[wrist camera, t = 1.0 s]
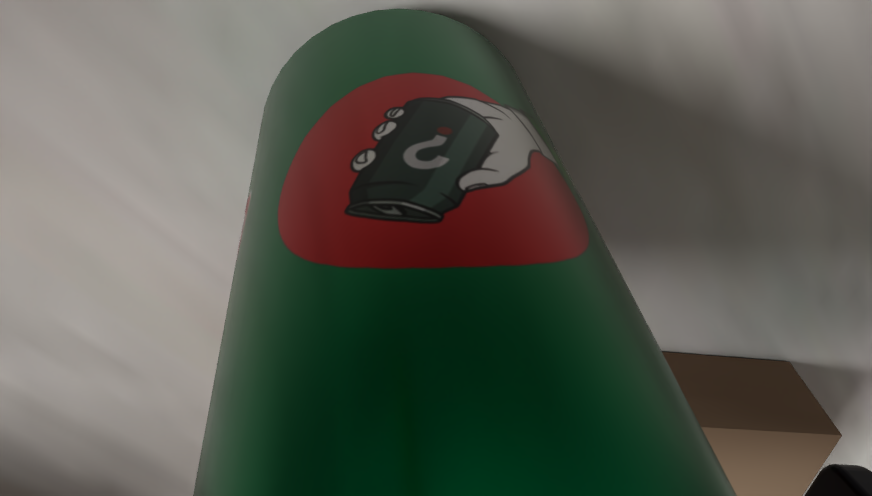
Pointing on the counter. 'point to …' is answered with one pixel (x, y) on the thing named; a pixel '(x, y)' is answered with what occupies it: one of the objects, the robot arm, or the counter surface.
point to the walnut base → (757, 421)
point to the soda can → (431, 295)
